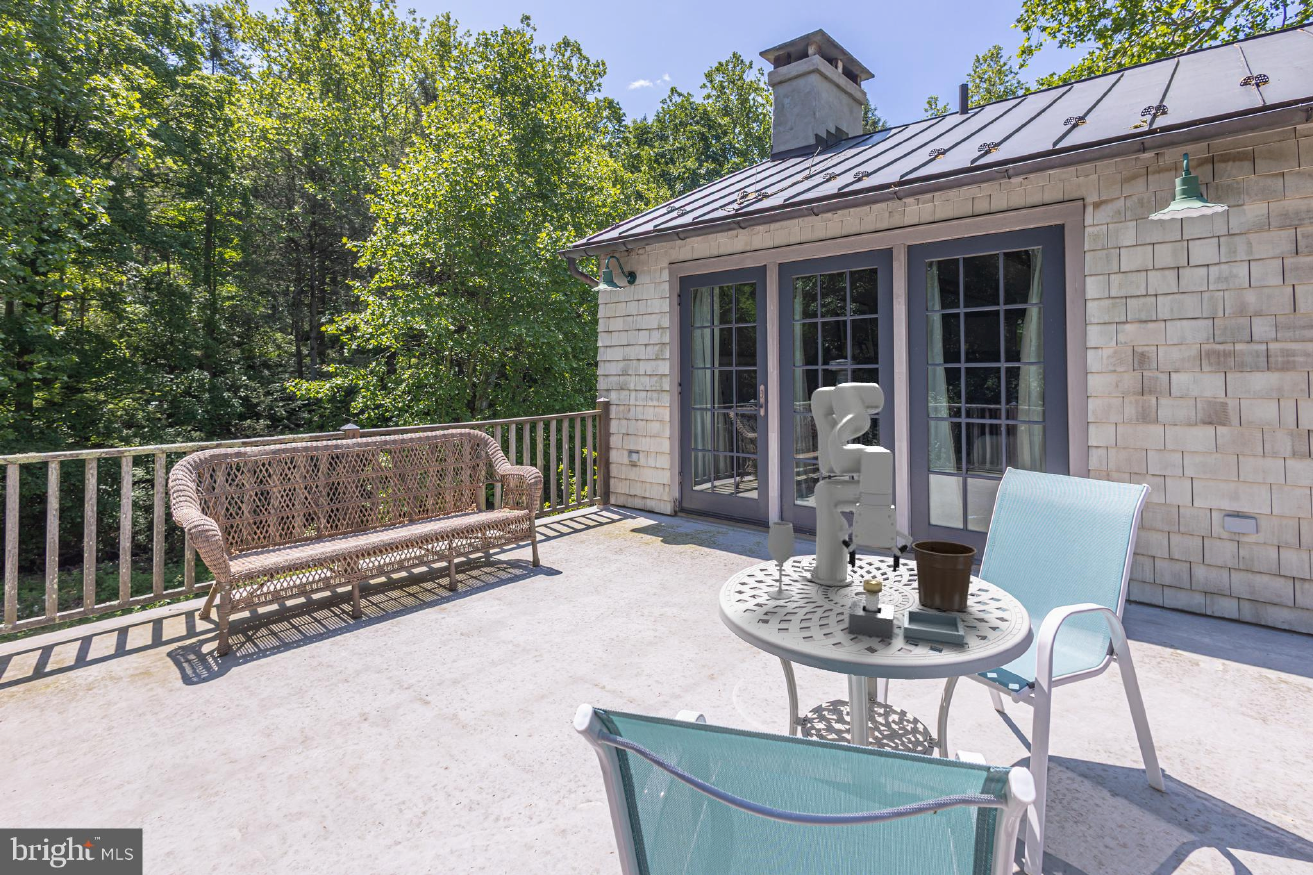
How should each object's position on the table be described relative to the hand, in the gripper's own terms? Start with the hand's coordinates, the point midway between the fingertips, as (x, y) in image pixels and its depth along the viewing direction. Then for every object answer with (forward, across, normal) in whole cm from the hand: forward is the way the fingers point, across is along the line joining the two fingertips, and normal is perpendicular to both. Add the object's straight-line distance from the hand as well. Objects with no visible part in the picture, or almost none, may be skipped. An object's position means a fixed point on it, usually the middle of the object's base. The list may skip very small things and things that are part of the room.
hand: (873, 568), depth 154 cm
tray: (+16, +14, +4) cm, 21 cm away
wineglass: (+15, -26, +18) cm, 35 cm away
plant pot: (+15, +17, +28) cm, 36 cm away
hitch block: (+16, 0, +1) cm, 16 cm away
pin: (+16, 0, +1) cm, 16 cm away
